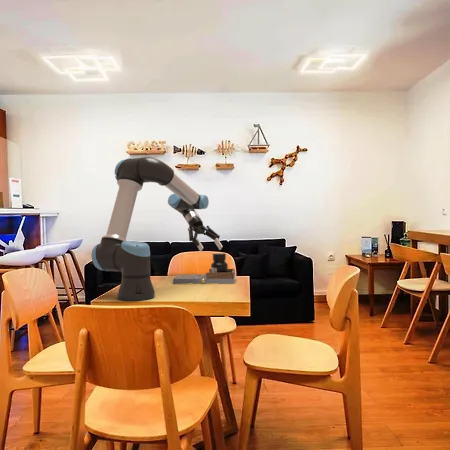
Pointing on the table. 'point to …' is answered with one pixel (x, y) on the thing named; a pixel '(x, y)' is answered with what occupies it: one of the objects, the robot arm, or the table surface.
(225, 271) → the ink bottle
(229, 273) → the holder
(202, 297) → the table surface
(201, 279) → the hinge
